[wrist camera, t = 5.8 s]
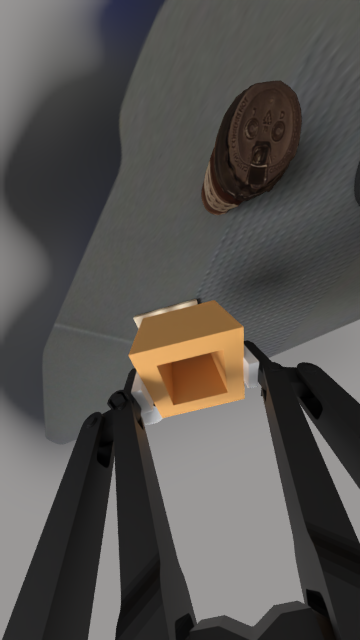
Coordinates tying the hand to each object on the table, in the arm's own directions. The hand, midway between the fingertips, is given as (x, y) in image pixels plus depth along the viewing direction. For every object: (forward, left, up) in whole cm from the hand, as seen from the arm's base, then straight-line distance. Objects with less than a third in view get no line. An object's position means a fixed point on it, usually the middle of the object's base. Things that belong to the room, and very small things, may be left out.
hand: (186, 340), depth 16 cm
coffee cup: (-12, -17, -18) cm, 27 cm away
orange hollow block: (0, 0, 0) cm, 0 cm away
